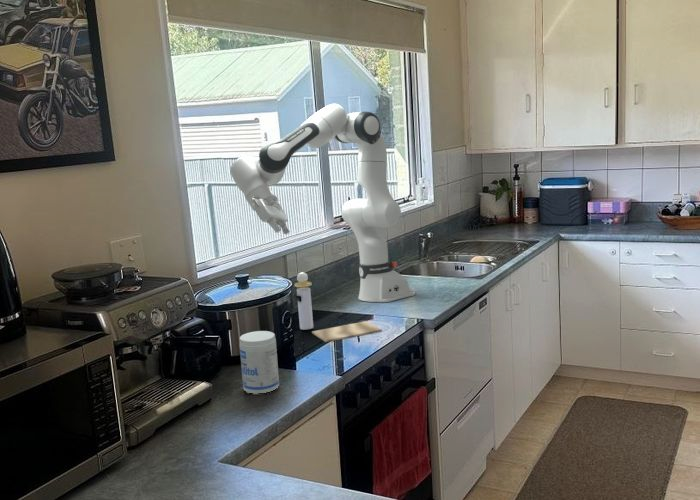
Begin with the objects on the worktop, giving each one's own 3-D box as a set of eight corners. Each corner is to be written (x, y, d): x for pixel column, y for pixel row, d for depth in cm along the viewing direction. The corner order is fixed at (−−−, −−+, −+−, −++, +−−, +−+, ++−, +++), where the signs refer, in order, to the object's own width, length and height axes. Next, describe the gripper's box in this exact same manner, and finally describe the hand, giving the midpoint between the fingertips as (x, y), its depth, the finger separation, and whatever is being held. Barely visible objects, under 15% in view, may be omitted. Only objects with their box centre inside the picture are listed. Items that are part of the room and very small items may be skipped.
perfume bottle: (311, 326, 239) (306, 269, 235) (318, 329, 234) (313, 272, 230) (295, 329, 236) (290, 272, 233) (302, 333, 231) (297, 274, 228)
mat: (366, 322, 238) (366, 321, 238) (381, 331, 227) (381, 329, 227) (312, 333, 231) (311, 331, 230) (325, 342, 220) (325, 340, 220)
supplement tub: (236, 393, 182) (231, 340, 179) (255, 380, 190) (250, 329, 188) (268, 397, 178) (263, 342, 175) (286, 383, 186) (281, 331, 184)
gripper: (258, 190, 224) (281, 225, 222) (278, 197, 244) (299, 229, 242) (243, 201, 225) (265, 236, 223) (264, 207, 245) (285, 239, 243)
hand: (283, 232), depth 233 cm, fingers open, 8 cm apart
